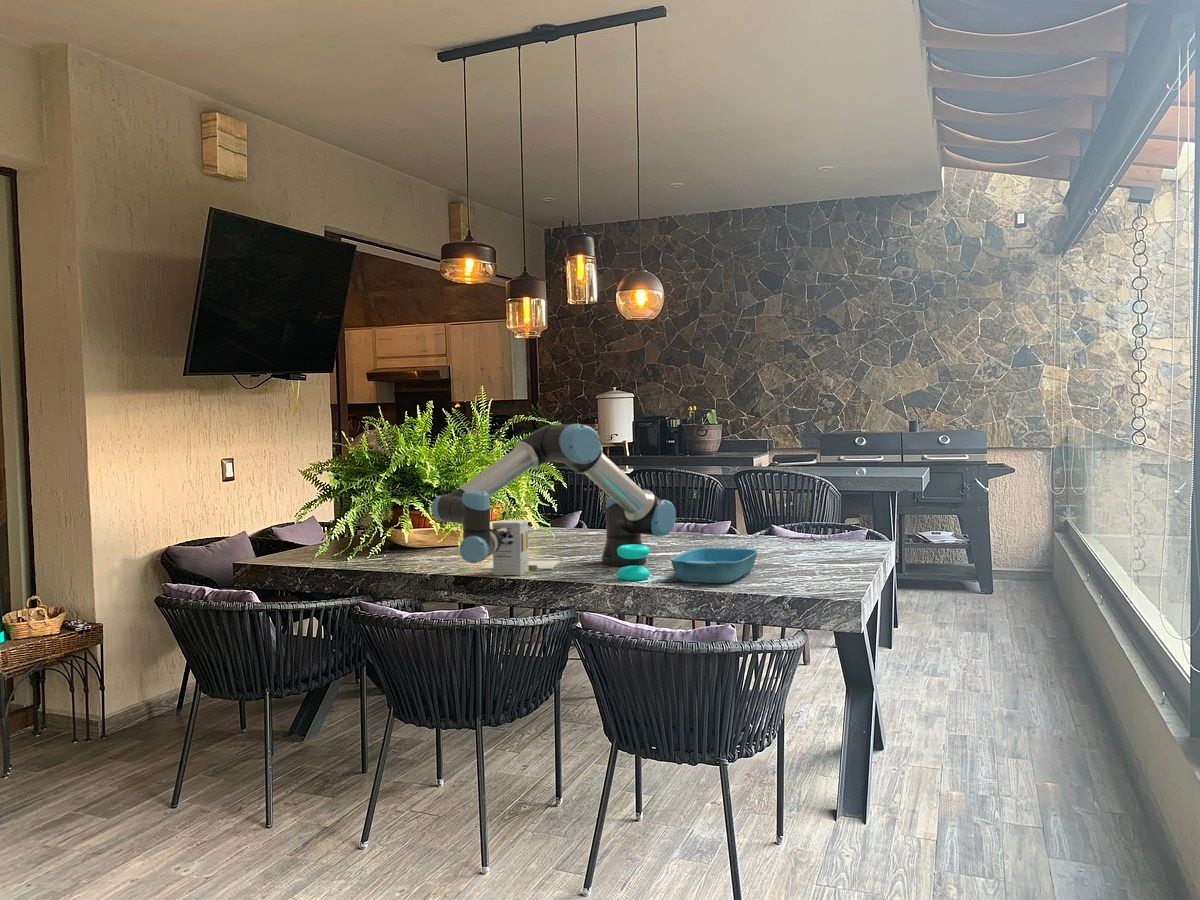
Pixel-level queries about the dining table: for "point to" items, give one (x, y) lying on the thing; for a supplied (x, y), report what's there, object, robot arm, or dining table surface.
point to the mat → (531, 565)
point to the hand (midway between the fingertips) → (504, 532)
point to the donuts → (633, 571)
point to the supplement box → (512, 549)
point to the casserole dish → (713, 564)
